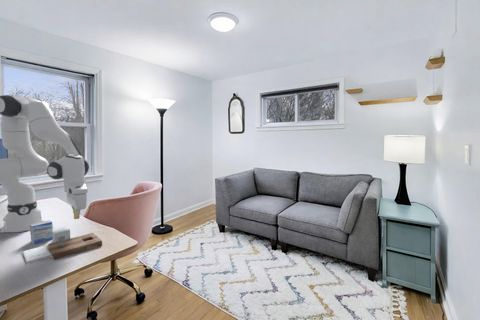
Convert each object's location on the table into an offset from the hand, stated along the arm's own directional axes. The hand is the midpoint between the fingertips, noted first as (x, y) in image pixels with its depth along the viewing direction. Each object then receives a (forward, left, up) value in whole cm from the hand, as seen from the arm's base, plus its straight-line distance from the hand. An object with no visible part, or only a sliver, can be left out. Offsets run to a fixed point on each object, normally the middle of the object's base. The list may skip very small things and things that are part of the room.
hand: (76, 214), depth 120 cm
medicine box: (-8, -13, -12) cm, 20 cm away
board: (+13, -4, -12) cm, 18 cm away
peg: (0, 0, -2) cm, 2 cm away
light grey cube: (+1, -7, -12) cm, 14 cm away
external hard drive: (+9, -17, -13) cm, 23 cm away
